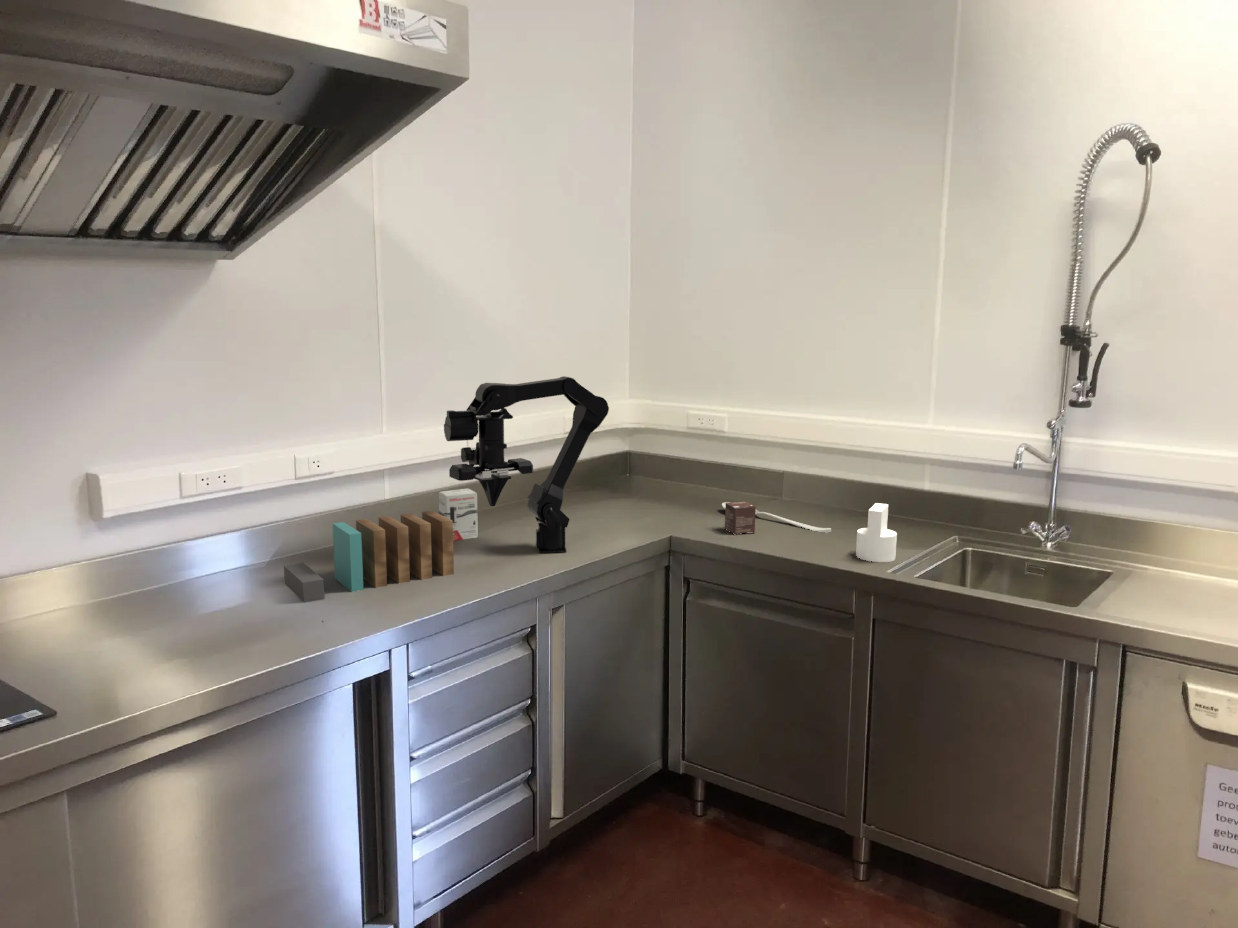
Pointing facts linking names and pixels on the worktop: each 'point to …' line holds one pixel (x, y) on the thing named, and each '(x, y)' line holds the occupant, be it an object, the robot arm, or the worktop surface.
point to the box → (740, 517)
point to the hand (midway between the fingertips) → (492, 505)
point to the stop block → (304, 582)
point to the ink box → (460, 512)
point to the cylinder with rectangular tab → (876, 537)
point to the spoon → (790, 521)
